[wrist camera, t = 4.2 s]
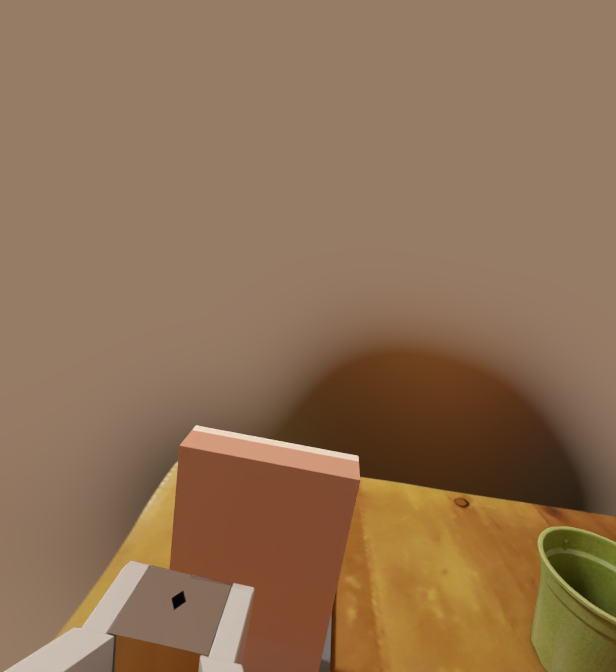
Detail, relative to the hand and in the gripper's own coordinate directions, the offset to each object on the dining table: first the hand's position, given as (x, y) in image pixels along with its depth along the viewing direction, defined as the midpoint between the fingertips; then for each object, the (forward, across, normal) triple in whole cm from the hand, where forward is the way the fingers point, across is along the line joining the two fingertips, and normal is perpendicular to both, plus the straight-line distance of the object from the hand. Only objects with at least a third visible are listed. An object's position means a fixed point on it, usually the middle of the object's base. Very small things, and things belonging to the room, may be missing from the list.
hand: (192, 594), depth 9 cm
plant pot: (+17, -25, +20) cm, 37 cm away
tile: (+12, 0, +20) cm, 23 cm away
